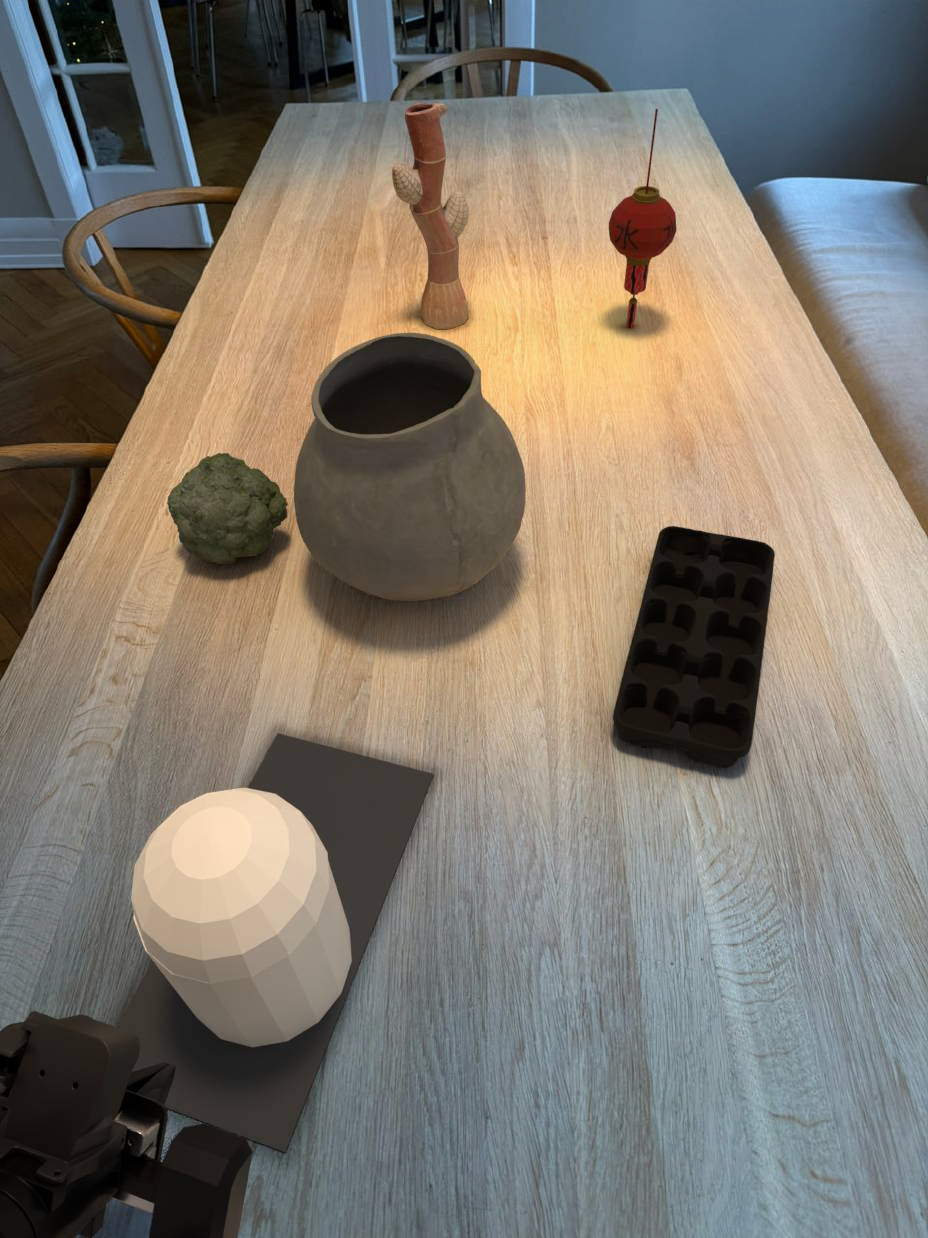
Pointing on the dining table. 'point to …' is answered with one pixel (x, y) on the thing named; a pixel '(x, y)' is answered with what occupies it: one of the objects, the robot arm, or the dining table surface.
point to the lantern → (641, 234)
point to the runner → (363, 871)
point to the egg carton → (698, 647)
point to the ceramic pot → (407, 471)
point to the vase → (434, 216)
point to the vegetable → (226, 509)
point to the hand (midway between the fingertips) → (169, 1070)
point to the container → (243, 915)
